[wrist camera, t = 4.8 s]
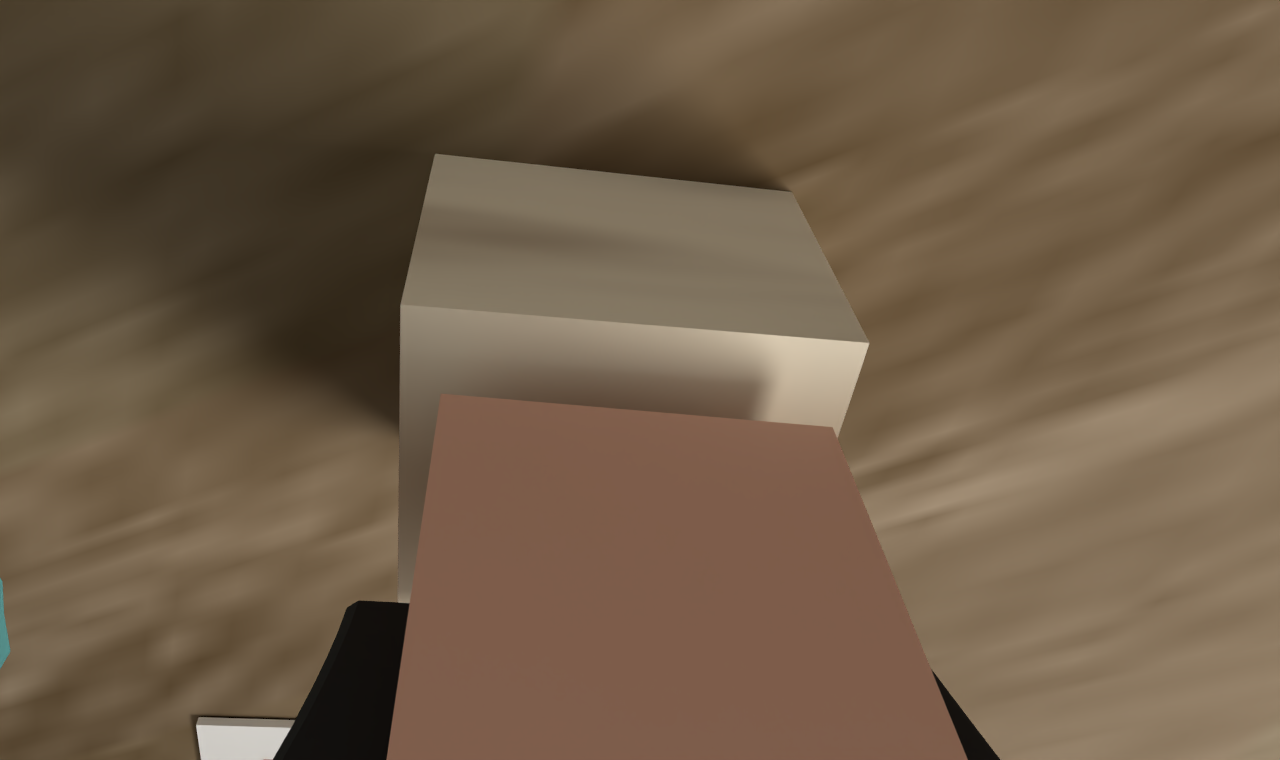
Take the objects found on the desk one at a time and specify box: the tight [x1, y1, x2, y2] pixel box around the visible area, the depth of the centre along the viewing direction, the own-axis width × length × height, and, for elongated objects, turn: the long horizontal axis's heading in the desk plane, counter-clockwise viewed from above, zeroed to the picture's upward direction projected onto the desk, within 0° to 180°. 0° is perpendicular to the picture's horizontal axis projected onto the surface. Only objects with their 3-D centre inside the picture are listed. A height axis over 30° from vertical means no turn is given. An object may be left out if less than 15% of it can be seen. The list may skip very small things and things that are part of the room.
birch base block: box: [398, 154, 869, 603], centre depth 15 cm, size 6×6×4 cm
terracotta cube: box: [387, 394, 968, 760], centre depth 10 cm, size 4×4×4 cm
